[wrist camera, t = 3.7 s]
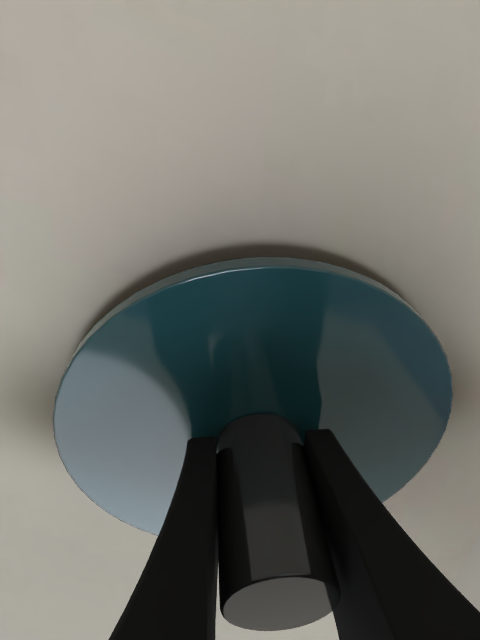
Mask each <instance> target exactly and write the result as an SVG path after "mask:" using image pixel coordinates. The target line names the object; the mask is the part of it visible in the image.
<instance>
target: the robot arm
mask: <svg viewBox="0 0 480 640" xmlns="http://www.w3.org/2000/svg"><path fill="white" fill-rule="evenodd" d="M304 450H305V454H306V458H307V461H308V465H309V469H310V473H311V477H312V481H313V484H314V488H315V492H316V496H317V500H318V504H319V507H320V511H321V515H322V519H323V523H324V527H325V531H326V535H327V539H328V542H329V546H330V550H331V554H332V558H333V562H334V566H335V570H336V574H337V577H338V581H339V585H340V589H341V598H340V602H339V604H338V605H337V607H336V608H335V609H334V610H333V614H334V618H335V622H336V626H337V630H338V635H339V640H480V612H479V611H478V610H477V609H476V608H475V607H474V606H473V605H472V604H471V603H470V602H469V601H468V600H467V599H466V598H465V597H464V596H463V595H462V594H461V593H460V592H459V591H458V590H457V589H456V588H455V587H454V586H453V585H452V584H451V583H450V581H449V580H448V579H447V578H446V577H445V576H444V575H443V574H442V573H441V572H440V571H439V570H438V569H437V568H436V566H435V565H434V564H433V563H432V562H431V561H430V560H429V559H428V558H427V557H426V555H425V554H424V553H423V552H422V551H421V550H420V549H419V548H418V546H417V545H416V544H415V543H414V542H413V541H412V539H411V538H410V537H409V536H408V535H407V533H406V532H405V531H404V530H403V529H402V527H401V526H400V525H399V524H398V523H397V521H396V520H395V519H394V518H393V516H392V515H391V514H390V513H389V511H388V510H387V509H386V508H385V506H384V505H383V504H382V502H381V501H380V500H379V498H378V497H377V496H376V495H375V493H374V492H373V491H372V489H371V488H370V487H369V485H368V484H367V483H366V481H365V480H364V478H363V477H362V476H361V474H360V473H359V471H358V470H357V469H356V467H355V466H354V464H353V463H352V461H351V460H350V458H349V457H348V455H347V454H346V452H345V451H344V449H343V448H342V446H341V445H340V443H339V442H338V440H337V438H336V437H335V435H334V434H333V432H332V431H331V430H330V429H316V430H306V433H305V441H304ZM217 575H218V532H217V462H216V442H215V436H210V437H195V438H191V439H189V440H188V441H187V448H186V453H185V458H184V462H183V466H182V470H181V473H180V477H179V480H178V483H177V486H176V490H175V492H174V495H173V498H172V501H171V504H170V507H169V509H168V512H167V515H166V518H165V520H164V523H163V526H162V528H161V530H160V533H159V535H158V538H157V540H156V542H155V545H154V547H153V550H152V552H151V554H150V557H149V559H148V561H147V564H146V566H145V568H144V570H143V572H142V575H141V577H140V579H139V581H138V583H137V585H136V587H135V589H134V591H133V594H132V596H131V598H130V600H129V602H128V604H127V606H126V608H125V610H124V612H123V614H122V615H121V617H120V619H119V621H118V623H117V625H116V627H115V629H114V631H113V632H112V634H111V636H110V638H109V640H215V618H216V596H217Z"/></svg>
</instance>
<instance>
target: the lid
mask: <svg viewBox="0 0 480 640" xmlns="http://www.w3.org/2000/svg"><path fill="white" fill-rule="evenodd" d="M452 398H453V388H452V374H451V371H450V367H449V363H448V360H447V356H446V354H445V352H444V350H443V348H442V346H441V344H440V342H439V340H438V338H437V337H436V335H435V334H434V333H433V331H432V330H431V329H430V327H429V326H428V325H427V324H426V322H425V321H424V320H423V318H422V317H421V316H420V315H419V314H418V312H417V311H416V310H415V309H414V308H412V307H411V306H410V305H409V304H408V303H407V302H406V301H405V300H404V299H402V298H401V297H400V296H399V295H398V294H396V293H395V292H393V291H391V290H390V289H388V288H387V287H385V286H384V285H382V284H380V283H379V282H377V281H375V280H373V279H371V278H368V277H366V276H364V275H362V274H359V273H357V272H355V271H352V270H349V269H346V268H342V267H339V266H335V265H332V264H328V263H325V262H319V261H312V260H305V259H298V258H288V257H254V258H244V259H234V260H226V261H221V262H217V263H212V264H208V265H203V266H199V267H195V268H192V269H189V270H186V271H183V272H181V273H178V274H175V275H172V276H169V277H166V278H164V279H162V280H160V281H158V282H156V283H154V284H152V285H150V286H148V287H146V288H144V289H142V290H140V291H138V292H136V293H135V294H134V295H132V296H131V297H129V298H128V299H126V300H125V301H123V302H122V303H120V304H119V305H118V306H116V307H115V308H113V309H112V310H111V311H110V312H109V313H108V314H107V315H106V316H104V317H103V318H102V319H101V320H100V321H99V322H98V323H97V324H96V325H95V326H94V327H93V328H92V329H91V330H90V332H89V333H88V334H87V335H86V337H85V338H84V339H83V340H82V342H81V343H80V344H79V345H78V347H77V349H76V350H75V352H74V354H73V356H72V358H71V360H70V361H69V363H68V365H67V367H66V369H65V372H64V374H63V376H62V379H61V382H60V385H59V388H58V391H57V394H56V397H55V404H54V413H53V426H54V438H55V441H56V445H57V448H58V452H59V456H60V458H61V460H62V462H63V464H64V466H65V468H66V470H67V472H68V473H69V475H70V476H71V478H72V479H73V480H74V482H75V483H76V484H77V486H78V487H79V488H80V489H81V490H82V491H83V492H84V493H85V494H86V495H87V496H88V497H89V498H90V499H91V500H92V501H93V502H94V503H96V504H97V505H98V506H100V507H101V508H102V509H103V510H105V511H106V512H108V513H109V514H111V515H113V516H114V517H116V518H118V519H119V520H121V521H123V522H125V523H127V524H129V525H131V526H133V527H136V528H138V529H140V530H143V531H146V532H149V533H151V534H154V535H157V536H158V535H159V533H160V530H161V528H162V526H163V523H164V520H165V518H166V515H167V512H168V509H169V507H170V504H171V501H172V498H173V495H174V492H175V490H176V486H177V483H178V480H179V477H180V473H181V470H182V466H183V462H184V458H185V453H186V448H187V441H188V440H189V439H191V438H195V437H210V436H215V442H216V462H217V532H218V563H219V595H220V610H221V613H222V615H223V617H224V618H225V619H226V620H227V621H228V622H229V623H231V624H233V625H235V626H238V627H241V628H245V629H250V630H258V631H277V630H286V629H292V628H296V627H300V626H304V625H307V624H309V623H312V622H314V621H317V620H319V619H321V618H323V617H325V616H326V615H328V614H329V613H330V612H332V611H333V610H334V609H335V608H336V607H337V605H338V604H339V602H340V598H341V589H340V585H339V581H338V577H337V574H336V570H335V566H334V562H333V558H332V554H331V550H330V546H329V542H328V539H327V535H326V531H325V527H324V523H323V519H322V515H321V511H320V507H319V504H318V500H317V496H316V492H315V488H314V484H313V481H312V477H311V473H310V469H309V465H308V461H307V458H306V454H305V450H304V441H305V433H306V430H316V429H330V430H331V431H332V432H333V434H334V435H335V437H336V438H337V440H338V442H339V443H340V445H341V446H342V448H343V449H344V451H345V452H346V454H347V455H348V457H349V458H350V460H351V461H352V463H353V464H354V466H355V467H356V469H357V470H358V471H359V473H360V474H361V476H362V477H363V478H364V480H365V481H366V483H367V484H368V485H369V487H370V488H371V489H372V491H373V492H374V493H375V495H376V496H377V497H378V498H379V500H380V501H381V502H382V503H383V502H384V501H386V500H387V499H388V498H390V497H391V496H392V495H394V494H395V493H396V492H398V491H399V490H400V489H402V488H403V487H404V486H405V485H406V484H407V483H408V482H409V481H410V480H411V479H412V478H413V477H414V476H415V475H416V474H417V473H418V472H419V471H420V470H421V468H422V467H423V466H424V465H425V464H426V463H427V461H428V460H429V458H430V457H431V455H432V454H433V452H434V451H435V449H436V448H437V446H438V444H439V442H440V440H441V438H442V436H443V434H444V432H445V430H446V426H447V423H448V420H449V416H450V413H451V406H452Z"/></svg>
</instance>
